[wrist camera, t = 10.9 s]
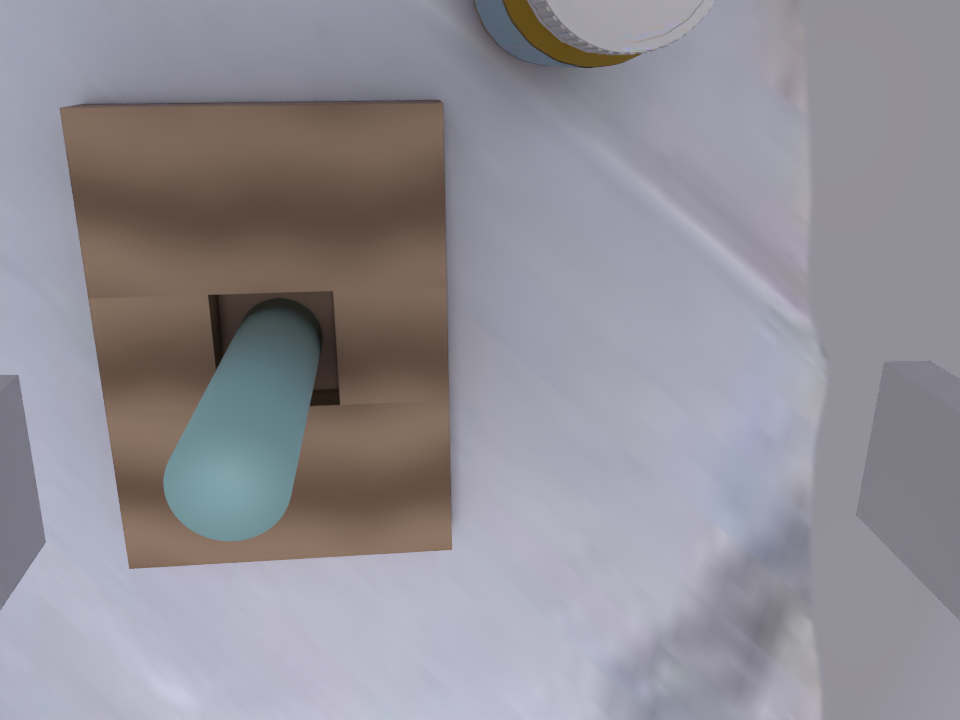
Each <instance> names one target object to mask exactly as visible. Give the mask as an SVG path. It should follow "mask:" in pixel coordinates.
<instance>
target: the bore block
mask: <svg viewBox="0 0 960 720" xmlns="http://www.w3.org/2000/svg"><path fill="white" fill-rule="evenodd" d="M60 114H61V120H62V127H63V133H64V140H65V147H66V153H67V160H68V166H69V173H70V180H71V186H72V193H73V199H74V206H75V213H76V219H77V226H78V232H79V239H80V246H81V252H82V259H83V265H84V272H85V279H86V285H87V292H88V298H89V305H90V312H91V318H92V325H93V331H94V338H95V345H96V351H97V358H98V365H99V371H100V378H101V384H102V391H103V398H104V404H105V411H106V417H107V424H108V431H109V437H110V444H111V450H112V457H113V464H114V470H115V477H116V483H117V490H118V497H119V503H120V510H121V516H122V523H123V530H124V536H125V543H126V549H127V556H128V563H129V569H134V568H151V567H168V566H185V565H202V564H219V563H236V562H253V561H270V560H286V559H303V558H320V557H337V556H354V555H371V554H388V553H405V552H422V551H439V550H452V530H451V479H450V428H449V376H448V325H447V274H446V223H445V172H444V121H443V103H442V102H441V101H440V100H397V101H314V102H231V103H148V104H81V105H75V106H68V107H62V108H60ZM274 298H285V299H290V300H294V301H296V302H299V303H301V304H302V305H304V306H305V307H307V308H308V309H309V310H310V311H311V312H312V313H313V314H314V315H315V317H316V318H317V320H318V322H319V324H320V326H321V330H322V336H323V342H322V348H321V353H320V358H319V363H318V368H317V373H316V377H315V382H314V387H313V392H312V397H311V402H310V407H309V411H308V416H307V421H306V426H305V431H304V436H303V440H302V445H301V450H300V455H299V460H298V465H297V470H296V474H295V479H294V484H293V489H292V494H291V498H290V502H289V505H288V507H287V509H286V511H285V513H284V514H283V516H282V517H281V518H280V520H279V521H278V522H277V523H276V524H275V525H274V526H273V527H271V528H270V529H269V530H267V531H266V532H264V533H262V534H260V535H258V536H256V537H253V538H250V539H246V540H241V541H219V540H214V539H210V538H207V537H204V536H201V535H199V534H197V533H195V532H193V531H192V530H190V529H189V528H187V527H186V526H185V525H184V524H182V523H181V522H180V521H179V519H178V518H177V517H176V516H175V515H174V513H173V512H172V511H171V509H170V507H169V505H168V503H167V500H166V497H165V493H164V484H163V481H164V473H165V469H166V466H167V463H168V461H169V459H170V457H171V455H172V453H173V451H174V449H175V447H176V446H177V444H178V442H179V440H180V438H181V436H182V434H183V432H184V430H185V428H186V427H187V425H188V423H189V421H190V419H191V417H192V415H193V413H194V411H195V410H196V408H197V406H198V404H199V402H200V400H201V398H202V396H203V394H204V392H205V391H206V389H207V387H208V385H209V383H210V381H211V379H212V377H213V375H214V373H215V372H216V370H217V368H218V366H219V364H220V362H221V360H222V358H223V356H224V354H225V353H226V351H227V349H228V347H229V345H230V343H231V341H232V339H233V337H234V335H235V334H236V332H237V330H238V328H239V326H240V324H241V322H242V320H243V319H244V317H245V315H246V314H247V313H248V311H249V310H250V309H251V308H253V307H254V306H255V305H257V304H258V303H260V302H262V301H265V300H269V299H274Z"/></svg>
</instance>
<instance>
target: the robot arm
mask: <svg viewBox="0 0 960 720" xmlns="http://www.w3.org/2000/svg"><path fill="white" fill-rule="evenodd" d="M856 515H857V516H858V518H859V519H860V520H862V521H863V523H864V524H865V525H866V526H868V528H869V529H870V530H871V531H872V532H873V533H874V534H875V535H876V536H877V537H878V538H879V539H880V540H881V541H882V542H883V543H884V544H885V545H886V546H887V547H888V548H889V549H890V550H891V551H892V552H893V553H894V554H895V555H896V556H897V557H898V558H899V559H900V560H901V561H902V562H903V563H904V564H905V565H906V566H907V567H908V568H909V569H910V570H911V572H912V573H913V574H914V575H915V576H916V577H918V579H919V580H920V581H921V582H922V583H923V584H924V585H925V586H926V587H927V588H928V589H929V590H930V591H931V592H932V593H933V594H934V595H935V596H936V597H937V598H938V599H939V600H940V601H941V602H942V603H943V604H944V605H945V606H946V607H947V608H948V609H949V610H950V611H951V612H952V613H953V614H954V615H955V616H956V617H957V618H958V619H959V620H960V379H959V378H957V377H956V376H954V375H952V374H951V373H949V372H947V371H946V370H944V369H942V368H941V367H939V366H937V365H936V364H934V363H932V362H931V361H897V362H895V361H894V362H884V365H883V371H882V377H881V382H880V387H879V392H878V398H877V403H876V409H875V414H874V420H873V425H872V430H871V436H870V442H869V447H868V453H867V458H866V464H865V469H864V474H863V480H862V485H861V490H860V496H859V502H858V507H857V512H856ZM45 543H46V540H45V534H44V528H43V522H42V516H41V510H40V504H39V498H38V492H37V485H36V479H35V473H34V467H33V461H32V455H31V449H30V443H29V437H28V431H27V425H26V419H25V412H24V406H23V400H22V394H21V388H20V382H19V376H18V375H0V610H1V609H2V607H3V606H4V604H5V603H6V601H7V600H8V598H9V597H10V595H11V594H12V592H13V591H14V589H15V588H16V586H17V585H18V583H19V582H20V580H21V579H22V577H23V576H24V574H25V573H26V571H27V570H28V568H29V567H30V565H31V564H32V562H33V561H34V559H35V558H36V556H37V555H38V553H39V552H40V550H41V549H42V547H43V546H44V544H45Z"/></svg>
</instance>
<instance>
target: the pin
mask: <svg viewBox="0 0 960 720" xmlns="http://www.w3.org/2000/svg"><path fill="white" fill-rule="evenodd" d="M322 342H323V336H322V330H321V326H320V324H319V322H318V320H317V318H316V317H315V315H314V314H313V313H312V312H311V311H310V310H309V309H308V308H307V307H305V306H304V305H302V304H301V303H299V302H296V301H294V300H290V299H285V298H274V299H269V300H265V301H262V302H260V303H258V304H257V305H255V306H254V307H253V308H251V309H250V310H249V311H248V313H247V314H246V315H245V317H244V319H243V320H242V322H241V324H240V326H239V328H238V330H237V332H236V334H235V335H234V337H233V339H232V341H231V343H230V345H229V347H228V349H227V351H226V353H225V354H224V356H223V358H222V360H221V362H220V364H219V366H218V368H217V370H216V372H215V373H214V375H213V377H212V379H211V381H210V383H209V385H208V387H207V389H206V391H205V392H204V394H203V396H202V398H201V400H200V402H199V404H198V406H197V408H196V410H195V411H194V413H193V415H192V417H191V419H190V421H189V423H188V425H187V427H186V428H185V430H184V432H183V434H182V436H181V438H180V440H179V442H178V444H177V446H176V447H175V449H174V451H173V453H172V455H171V457H170V459H169V461H168V463H167V466H166V469H165V473H164V481H163V484H164V493H165V497H166V500H167V503H168V505H169V507H170V509H171V511H172V512H173V513H174V515H175V516H176V517H177V518H178V519H179V521H180V522H181V523H182V524H184V525H185V526H186V527H187V528H189V529H190V530H192V531H193V532H195V533H197V534H199V535H201V536H204V537H207V538H210V539H214V540H219V541H241V540H246V539H250V538H253V537H256V536H258V535H260V534H262V533H264V532H266V531H267V530H269V529H270V528H271V527H273V526H274V525H275V524H276V523H277V522H278V521H279V520H280V518H281V517H282V516H283V514H284V513H285V511H286V509H287V507H288V505H289V502H290V498H291V494H292V489H293V484H294V479H295V474H296V470H297V465H298V460H299V455H300V450H301V445H302V440H303V436H304V431H305V426H306V421H307V416H308V411H309V407H310V402H311V397H312V392H313V387H314V382H315V377H316V373H317V368H318V363H319V358H320V353H321V348H322Z"/></svg>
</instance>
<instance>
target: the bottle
mask: <svg viewBox="0 0 960 720" xmlns="http://www.w3.org/2000/svg"><path fill="white" fill-rule="evenodd" d="M715 1H716V0H474V4H475V7H476V10H477V12H478V15H479V17H480V20H481V22H482V25H483V26H484V28H485V30H486V31H487V32H488V33H489V35H490V36H491V37H492V38H493V39H494V41H495V42H496V43H497V44H498V45H499V46H500V47H501V48H502V49H504V50H505V51H507V52H509V53H510V54H512V55H513V56H515V57H517V58H518V59H521V60H523V61H526V62H530V63H534V64H539V65H545V66H563V67H583V68H593V67H602V66H611V65H616V64H620V63H623V62H625V61H627V60H630V59H632V58H634V57H636V56H638V55H640V54H643V53H646V51H655V50H656V49H657V48H661V47H665V46H667V44H669V43H672V42H675V41H677V39H678V38H679V37H681V36H684V35H686V33H687V32H688V31H689V30H691V29H693V28H694V27H695V25H696V24H697V23H698V22H699V21H701V20H702V19H703V17H704V16H705V15H706V13H707V12H708V11H709V10H710V8H711V7H712V5H713V4H714V2H715Z"/></svg>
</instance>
